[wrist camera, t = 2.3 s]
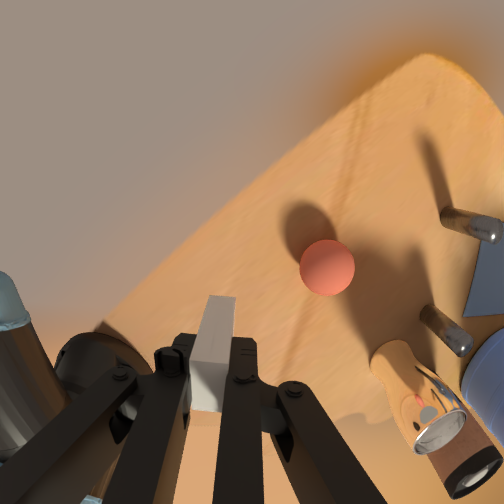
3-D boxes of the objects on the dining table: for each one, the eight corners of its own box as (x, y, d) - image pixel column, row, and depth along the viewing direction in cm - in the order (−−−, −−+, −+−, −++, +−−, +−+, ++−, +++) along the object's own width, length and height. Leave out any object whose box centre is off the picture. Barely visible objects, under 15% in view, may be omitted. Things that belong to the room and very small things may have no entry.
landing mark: (462, 316, 34) (463, 317, 34) (484, 218, 31) (485, 218, 31) (514, 312, 35) (514, 312, 34) (533, 230, 31) (534, 230, 31)
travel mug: (436, 393, 38) (495, 477, 18) (395, 412, 38) (445, 507, 19) (438, 359, 36) (512, 447, 17) (394, 380, 36) (457, 483, 17)
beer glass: (385, 385, 37) (428, 461, 22) (356, 366, 35) (398, 449, 21) (420, 350, 35) (476, 418, 21) (394, 327, 34) (454, 400, 20)
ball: (293, 282, 32) (301, 303, 27) (298, 232, 31) (308, 244, 26) (341, 285, 33) (357, 305, 27) (348, 236, 31) (367, 248, 26)
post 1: (438, 226, 31) (486, 243, 22) (441, 205, 30) (490, 217, 22) (453, 228, 31) (501, 245, 22) (456, 208, 30) (505, 220, 22)
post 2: (417, 322, 34) (453, 358, 25) (422, 304, 34) (461, 337, 25) (432, 322, 34) (468, 355, 26) (437, 304, 34) (476, 335, 25)
